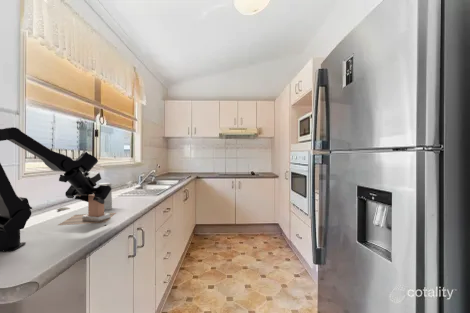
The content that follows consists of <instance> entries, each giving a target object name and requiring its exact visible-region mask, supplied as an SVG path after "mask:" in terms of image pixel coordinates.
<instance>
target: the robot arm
mask: <svg viewBox="0 0 470 313" xmlns="http://www.w3.org/2000/svg"><path fill="white" fill-rule="evenodd" d="M2 141H9V142H11V143H13V144H14V145H16V146H18V147H20V148H21V149H23V150H24V151H27V152H28V153H30V154H31V155H34V157H37V158H38V159H40V160H41V161H42V162H43V163H44V165H45V166H47V167H48V168H49V169H50V170H51V171H53V172H58V173H59V172H61V173H62V172H63V174H60V175H59V177H58V182H62V183H69V184H70V186H69V187H68V189H67V190H65V197H66V198H68V199H75V200H79V201H83V202H86V203H88V195H92V194H95V197H94V198H93V200H94V201H97V202H99V203H101V204H104V199H106V197H107V196H108V194H109V192H110V191H111V192H112V186H111V187H110V186H109V185H100V186H99V187H98V182H99V181H100V180H102V177H101V174H100V172H99V171H92V172H91V170H92V169H93V168H94V166H96V164H98V162H99V161H98V158H97V157H95V156H94V155H92V154H91V153H88V151H83V152H81V154H80V155H79V156H78V158H76V160H75V159H73V158H71V157H70V156H68V155H65V154H63V153H60V152H56V151H54V150H52V149H51V148H49V147H47V146H46V145H43V144H42V143H40V142H39V141H37V140H36V139H34V138H32V137H31V136H29V135H28V134H27V133H24V132H23V131H22V130H21V129H19V128H18V127H5V128H0V142H2ZM11 183H12V182H11V181H10V180H9V177H8V175H7V173H6V171H5V170H4V168H3V166H2V163H1V162H0V252H1V253H2V252H13V251H16V250H17V249H20V248H21V247H23V246H24V245H26V242H24V241H23V242H21V230H24V228H25V227H26V224H27V221H28V220H29V219H30V218H31V217H32V210H33V207H32V206H31V205H30V204H29V203H30V202H29V200H28V198H27V197H22V196H18V195H17V194H16V192H15V189H14V188H13V186H12V184H11ZM96 186H97V187H96Z"/></svg>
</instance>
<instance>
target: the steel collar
mask: <svg viewBox="0 0 470 313" xmlns="http://www.w3.org/2000/svg"><path fill="white" fill-rule="evenodd" d="M110 213H111V212H104V215H102V216H99V217H97V216H88V215H85V216H82V221H94V222H100V221H103V220H105V219H108V218H110ZM110 219H111V218H110Z"/></svg>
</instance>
